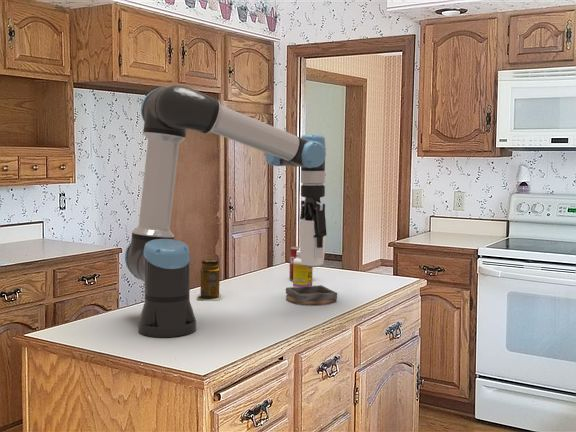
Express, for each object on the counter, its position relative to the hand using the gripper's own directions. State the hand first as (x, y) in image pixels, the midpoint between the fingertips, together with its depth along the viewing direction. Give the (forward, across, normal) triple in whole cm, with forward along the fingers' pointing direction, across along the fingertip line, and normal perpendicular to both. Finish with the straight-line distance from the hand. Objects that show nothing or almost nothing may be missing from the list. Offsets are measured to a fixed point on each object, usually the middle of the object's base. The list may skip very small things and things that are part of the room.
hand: (312, 255), depth 215 cm
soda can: (+15, +30, -8) cm, 34 cm away
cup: (+4, 0, 0) cm, 4 cm away
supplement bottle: (+15, +17, -4) cm, 23 cm away
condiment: (+14, +13, +30) cm, 36 cm away
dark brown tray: (+14, 0, 0) cm, 14 cm away
